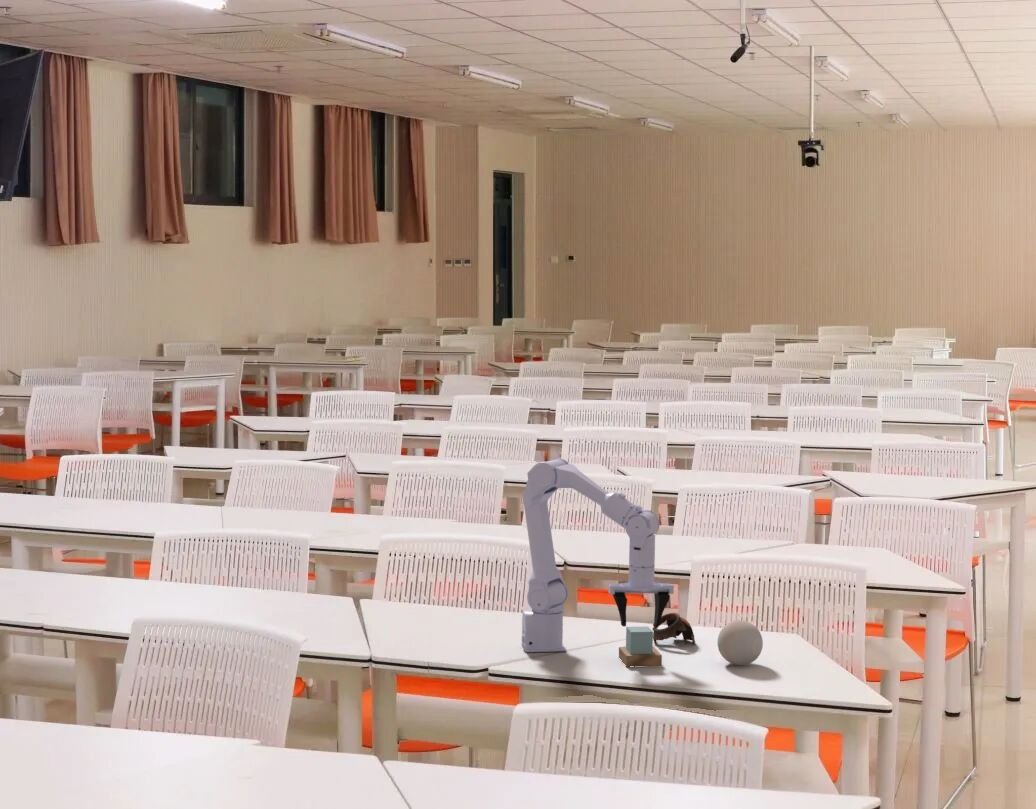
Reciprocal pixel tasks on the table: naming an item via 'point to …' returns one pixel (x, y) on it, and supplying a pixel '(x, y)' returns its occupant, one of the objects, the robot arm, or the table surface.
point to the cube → (639, 640)
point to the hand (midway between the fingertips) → (640, 625)
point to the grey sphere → (740, 642)
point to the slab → (640, 658)
